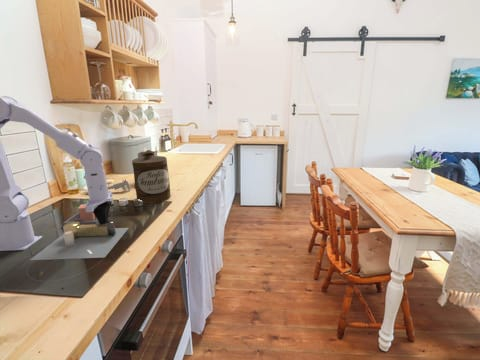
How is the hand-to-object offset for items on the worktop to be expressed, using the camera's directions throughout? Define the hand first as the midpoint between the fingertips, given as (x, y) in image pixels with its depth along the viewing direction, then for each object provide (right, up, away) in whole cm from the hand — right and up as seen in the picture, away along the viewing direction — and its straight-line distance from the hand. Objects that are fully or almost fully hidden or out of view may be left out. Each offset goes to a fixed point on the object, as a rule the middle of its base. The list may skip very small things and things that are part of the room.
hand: (103, 223), depth 89 cm
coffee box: (-4, +14, +60) cm, 62 cm away
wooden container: (+7, +6, +32) cm, 33 cm away
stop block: (-9, 0, +7) cm, 11 cm away
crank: (-1, -3, -5) cm, 6 cm away
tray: (-9, -1, +7) cm, 12 cm away
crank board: (-1, -5, -9) cm, 10 cm away
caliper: (-19, +8, +40) cm, 45 cm away
